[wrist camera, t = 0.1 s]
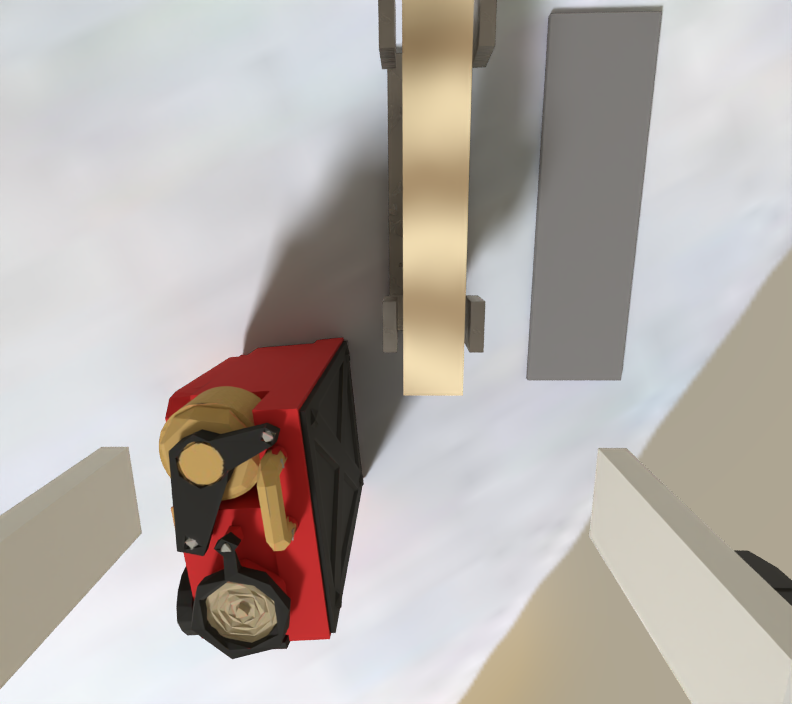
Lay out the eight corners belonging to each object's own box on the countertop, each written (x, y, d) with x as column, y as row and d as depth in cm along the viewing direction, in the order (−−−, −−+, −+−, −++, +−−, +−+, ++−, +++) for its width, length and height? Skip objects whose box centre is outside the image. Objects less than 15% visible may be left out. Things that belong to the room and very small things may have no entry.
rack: (387, 57, 35) (376, -44, 23) (466, 56, 35) (499, -47, 23) (390, 328, 40) (382, 368, 28) (459, 328, 40) (483, 368, 28)
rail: (402, -44, 25) (401, -88, 22) (467, -46, 25) (476, -90, 22) (403, 378, 31) (403, 395, 28) (456, 378, 31) (462, 395, 27)
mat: (548, 17, 35) (551, 13, 34) (657, 15, 34) (661, 11, 34) (526, 378, 41) (528, 380, 40) (617, 378, 41) (620, 380, 40)
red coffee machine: (235, 340, 41) (80, 430, 21) (349, 331, 40) (296, 415, 21) (262, 500, 45) (150, 701, 25) (367, 493, 44) (335, 693, 25)
